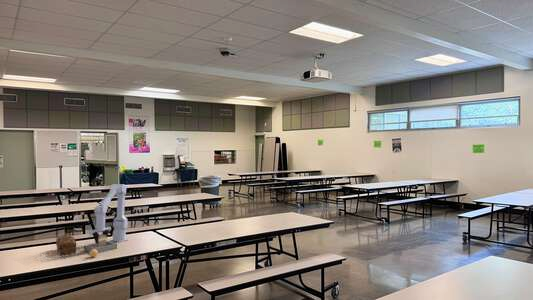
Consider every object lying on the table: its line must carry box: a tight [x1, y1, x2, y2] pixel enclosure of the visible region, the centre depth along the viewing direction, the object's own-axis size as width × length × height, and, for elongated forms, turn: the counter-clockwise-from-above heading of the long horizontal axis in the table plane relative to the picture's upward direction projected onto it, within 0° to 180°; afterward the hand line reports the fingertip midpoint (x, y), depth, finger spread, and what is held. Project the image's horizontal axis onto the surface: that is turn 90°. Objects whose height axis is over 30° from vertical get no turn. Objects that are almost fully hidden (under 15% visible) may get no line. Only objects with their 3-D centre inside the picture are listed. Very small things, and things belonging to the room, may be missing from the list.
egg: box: [88, 249, 99, 258], centre depth 227 cm, size 5×5×5 cm
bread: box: [55, 234, 77, 256], centre depth 240 cm, size 19×11×10 cm, turn 36°
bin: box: [83, 240, 118, 254], centre depth 244 cm, size 14×16×4 cm
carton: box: [96, 233, 107, 247], centre depth 244 cm, size 5×5×7 cm
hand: (100, 242), depth 244 cm, fingers closed on carton, 5 cm apart
